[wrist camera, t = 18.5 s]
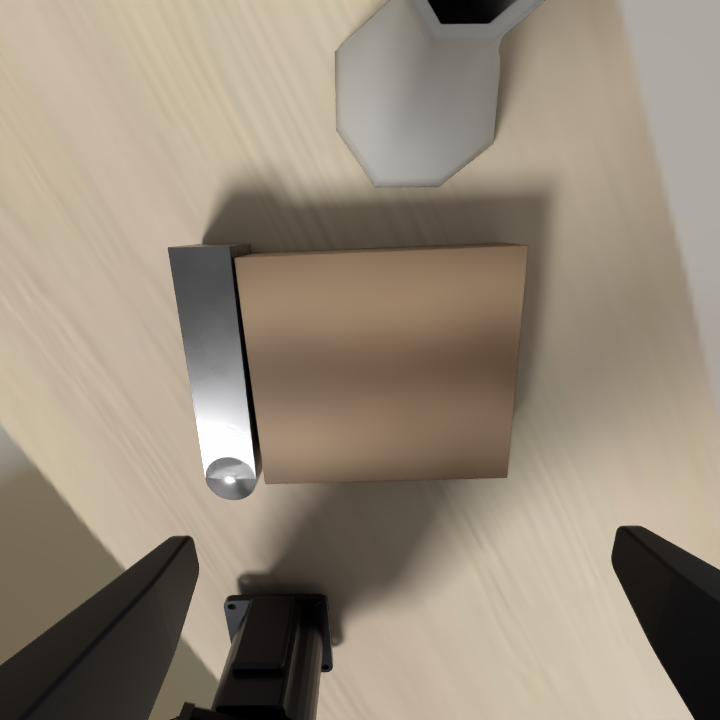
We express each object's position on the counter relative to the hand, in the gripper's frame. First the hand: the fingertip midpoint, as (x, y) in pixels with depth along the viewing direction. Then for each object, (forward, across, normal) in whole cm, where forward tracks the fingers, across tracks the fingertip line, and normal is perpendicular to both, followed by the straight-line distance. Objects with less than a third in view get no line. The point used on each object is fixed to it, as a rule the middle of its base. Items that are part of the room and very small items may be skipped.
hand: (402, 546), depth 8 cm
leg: (+13, +8, +5) cm, 16 cm away
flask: (+13, -2, -12) cm, 18 cm away
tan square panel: (+13, 0, 0) cm, 13 cm away
